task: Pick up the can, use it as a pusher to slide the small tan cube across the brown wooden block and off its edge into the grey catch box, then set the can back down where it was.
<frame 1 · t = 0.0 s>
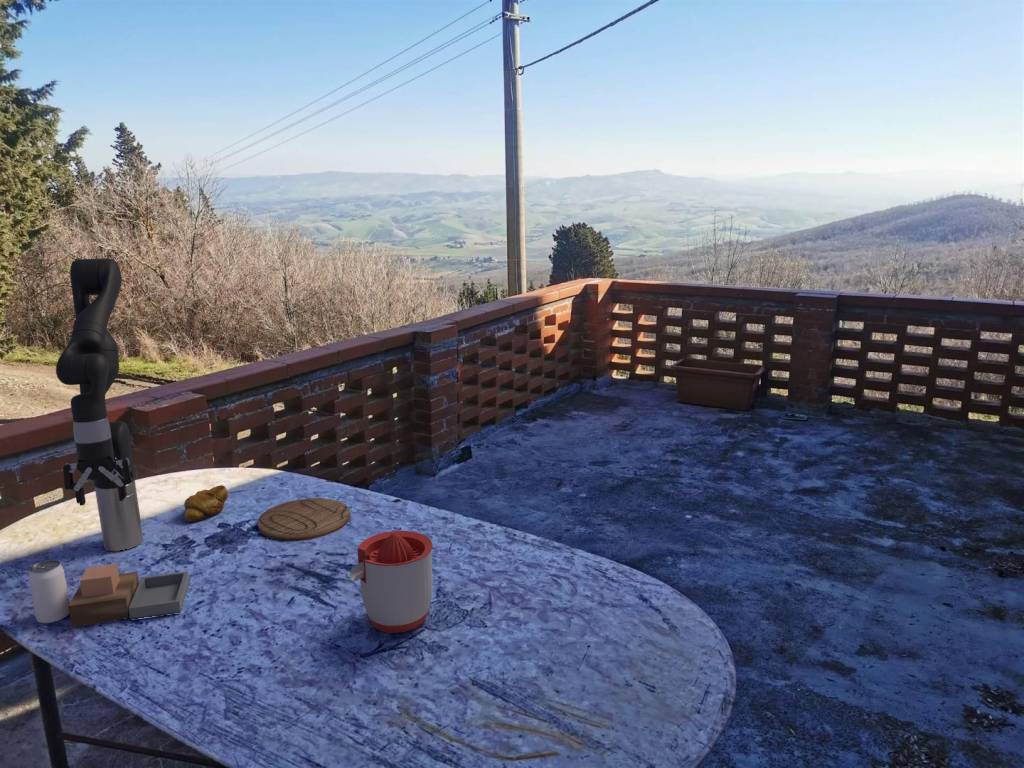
hand: (102, 502, 176), 17 cm above the table, tool pointing down, fingers open, 8 cm apart
bread roll: (203, 515, 211), on the table
small tan cube: (101, 588, 161), point 5 cm above the table, touching brown wooden block
brown wooden block: (107, 608, 162), on the table
citrus juicer: (394, 620, 156), on the table
trivet: (305, 522, 206), on the table
can: (54, 616, 159), on the table
catch box: (161, 600, 165), on the table
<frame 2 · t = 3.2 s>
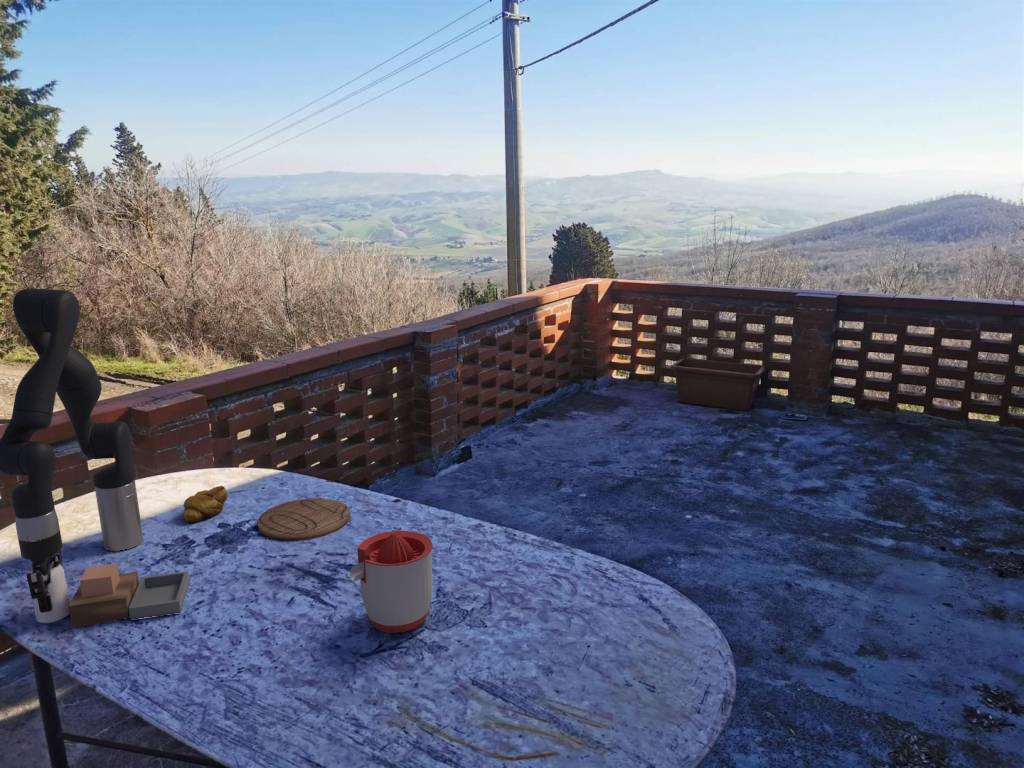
hand: (51, 602, 158), 3 cm above the table, tool pointing down, fingers closed on can, 6 cm apart
can: (54, 616, 159), on the table, touching gripper
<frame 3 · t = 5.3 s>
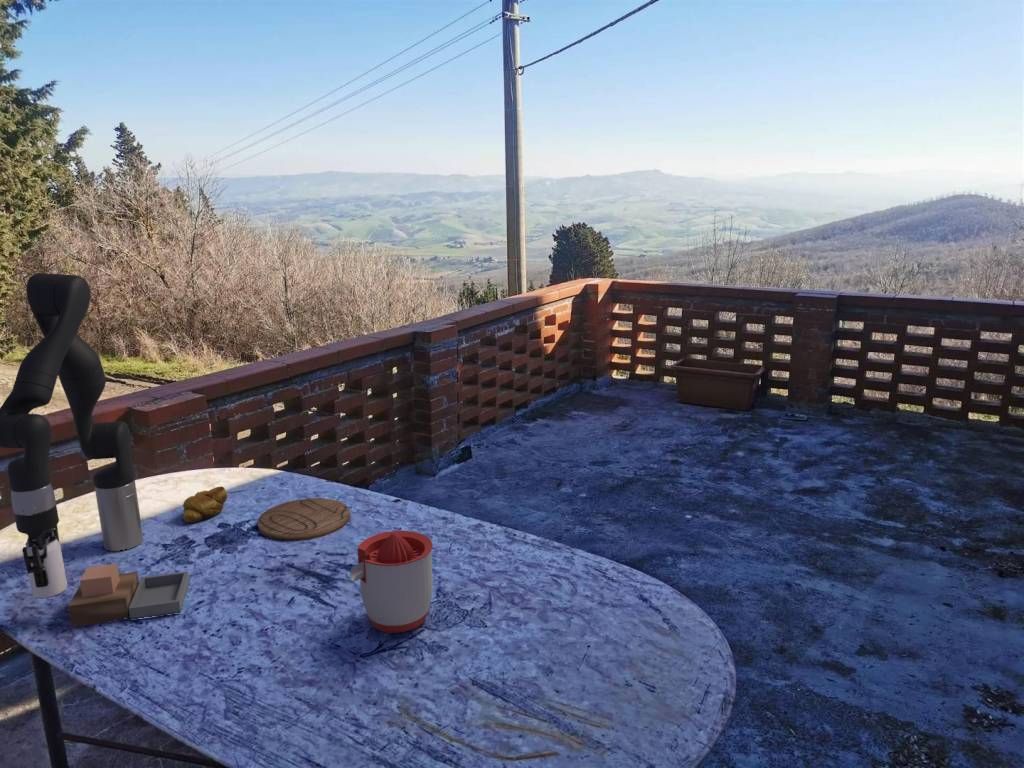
hand: (47, 577, 157), 9 cm above the table, tool pointing down, fingers closed on can, 6 cm apart
can: (50, 592, 158), point 6 cm above the table, touching gripper
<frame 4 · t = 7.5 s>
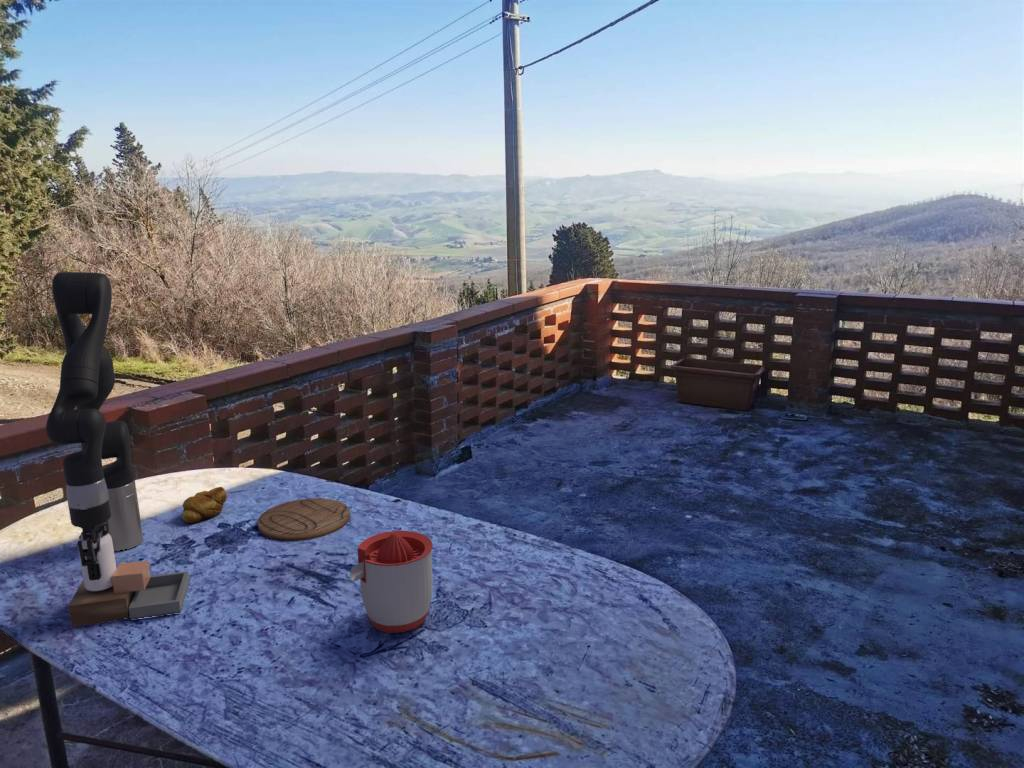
hand: (99, 571, 160), 9 cm above the table, tool pointing down, fingers closed on can, 6 cm apart
small tan cube: (132, 584, 162), point 5 cm above the table, touching brown wooden block
can: (101, 585, 161), point 6 cm above the table, touching gripper
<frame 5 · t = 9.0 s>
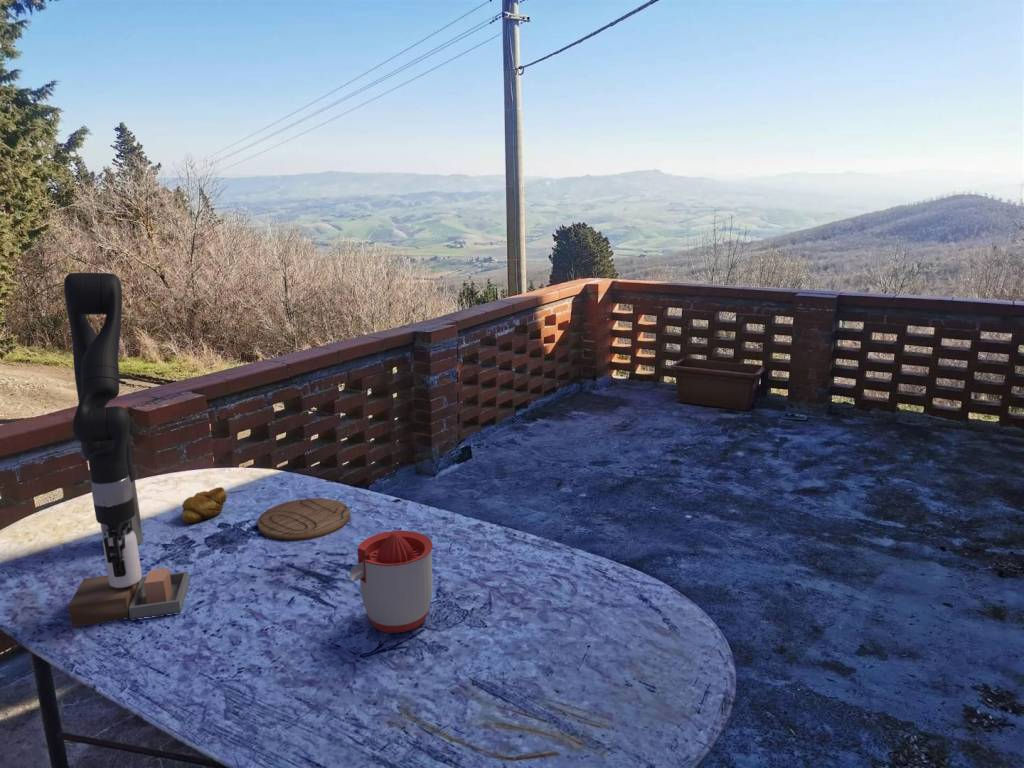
hand: (124, 568, 161), 9 cm above the table, tool pointing down, fingers closed on can, 6 cm apart
small tan cube: (148, 588, 163), point 4 cm above the table, tilted 90°, touching catch box
can: (126, 582, 162), point 6 cm above the table, touching gripper
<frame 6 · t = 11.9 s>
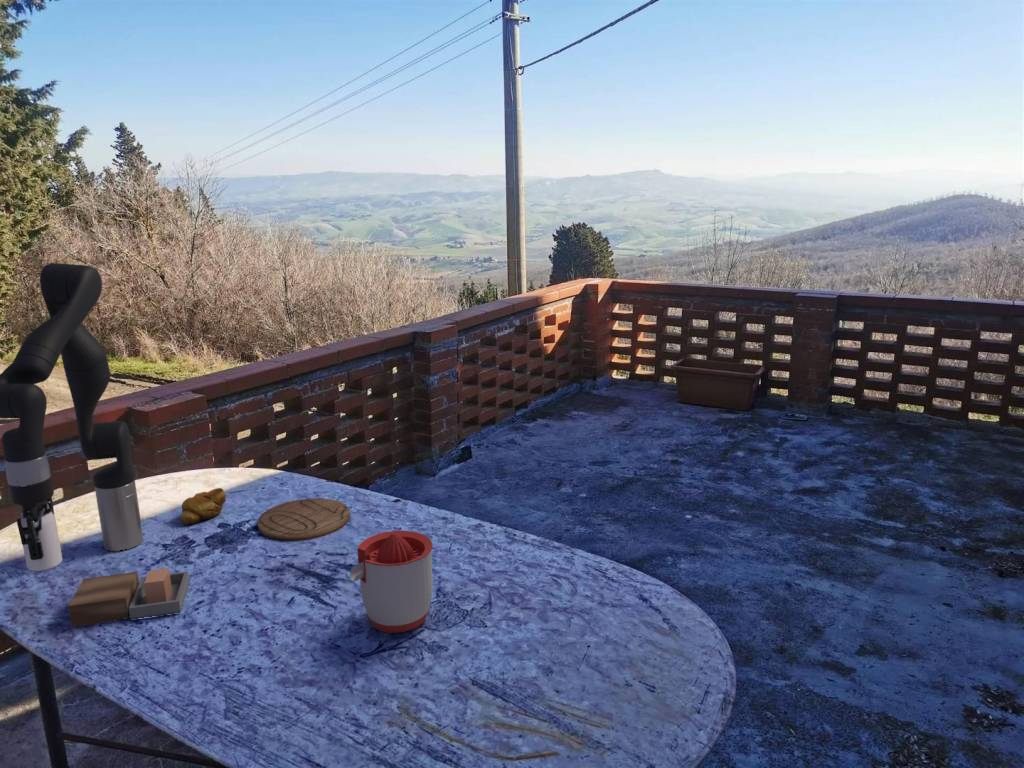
hand: (42, 551, 156), 15 cm above the table, tool pointing down, fingers closed on can, 6 cm apart
can: (45, 565, 156), point 12 cm above the table, touching gripper
when the fingers open (4 cm above the table, at t = 14.7 s): can drops 1 cm, on the table.
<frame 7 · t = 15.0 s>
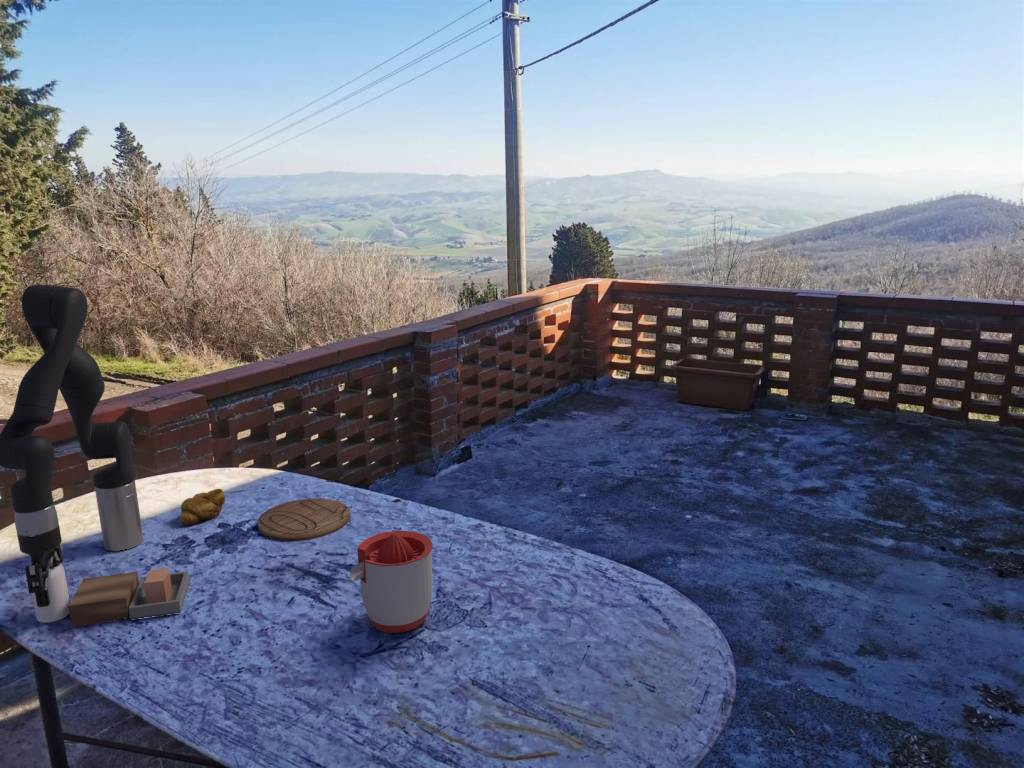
hand: (50, 595, 158), 5 cm above the table, tool pointing down, fingers open, 8 cm apart
can: (54, 616, 159), on the table
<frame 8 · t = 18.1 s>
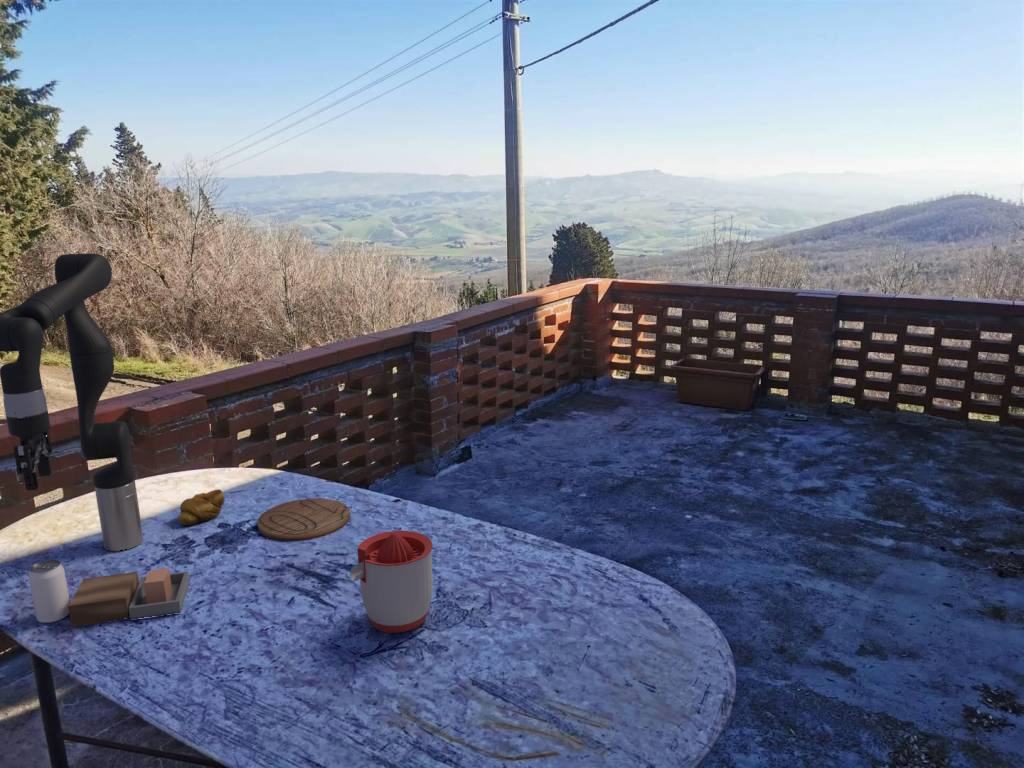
hand: (39, 482, 160), 28 cm above the table, tool pointing down, fingers open, 8 cm apart
at the end: small tan cube inside the target area (2.2 cm from its centre), point 3.6 cm above the table; can tilted 0°; can moved 0.3 cm from its start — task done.
